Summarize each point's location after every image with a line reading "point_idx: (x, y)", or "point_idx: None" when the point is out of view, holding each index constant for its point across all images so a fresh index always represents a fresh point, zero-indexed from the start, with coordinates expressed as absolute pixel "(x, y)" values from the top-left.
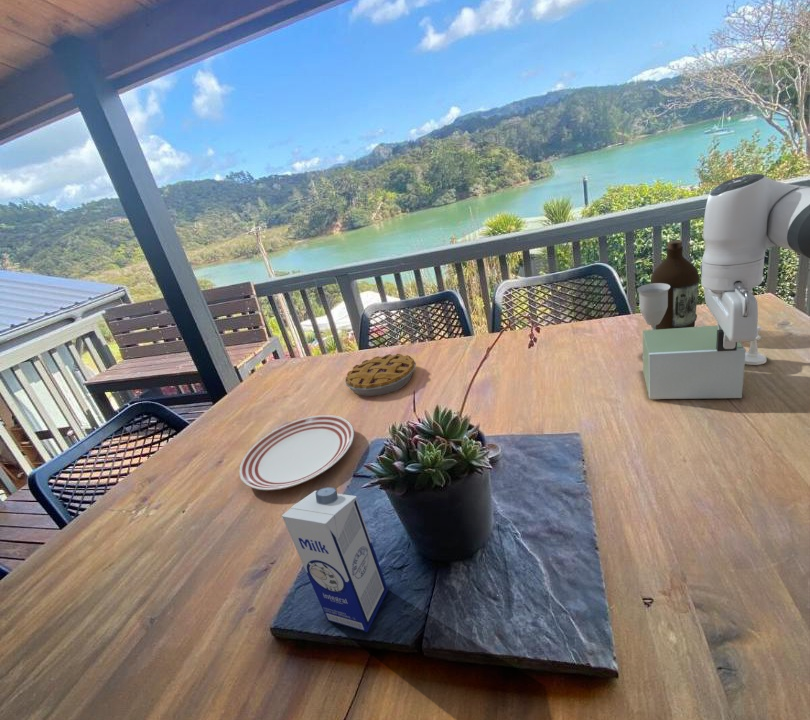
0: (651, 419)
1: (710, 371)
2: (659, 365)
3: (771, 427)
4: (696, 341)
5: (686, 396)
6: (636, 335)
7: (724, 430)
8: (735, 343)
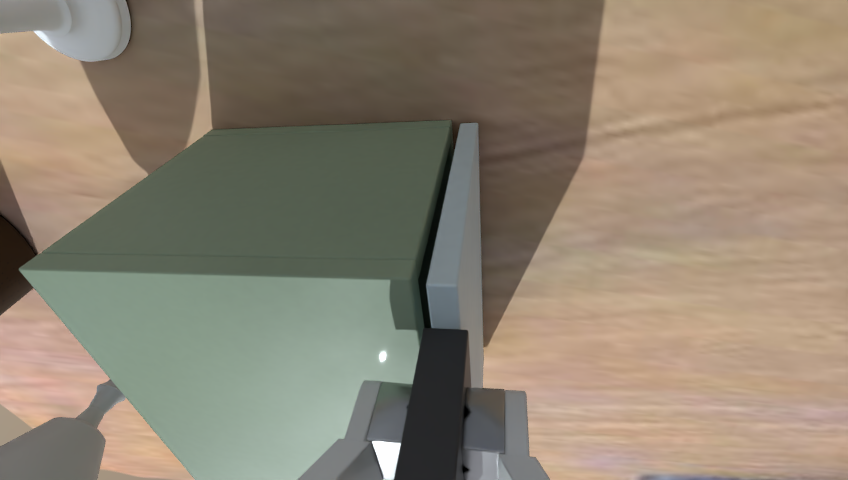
0: (597, 363)
1: (474, 312)
2: None
3: (730, 54)
4: (318, 421)
5: (481, 288)
6: (37, 326)
7: (708, 213)
8: (526, 423)
